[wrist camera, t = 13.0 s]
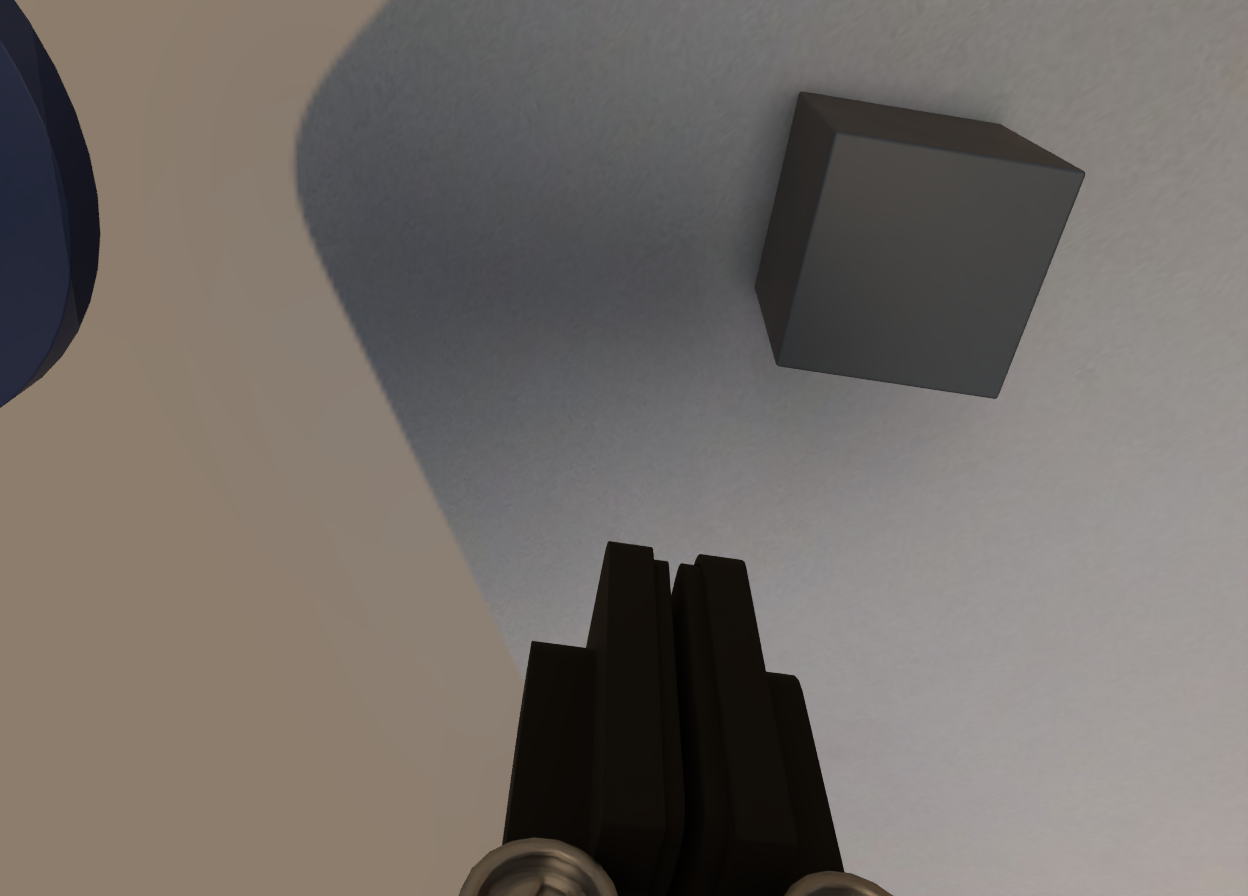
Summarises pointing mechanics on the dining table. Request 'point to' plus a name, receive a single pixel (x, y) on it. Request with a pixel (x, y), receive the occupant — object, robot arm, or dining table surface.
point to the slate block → (908, 244)
